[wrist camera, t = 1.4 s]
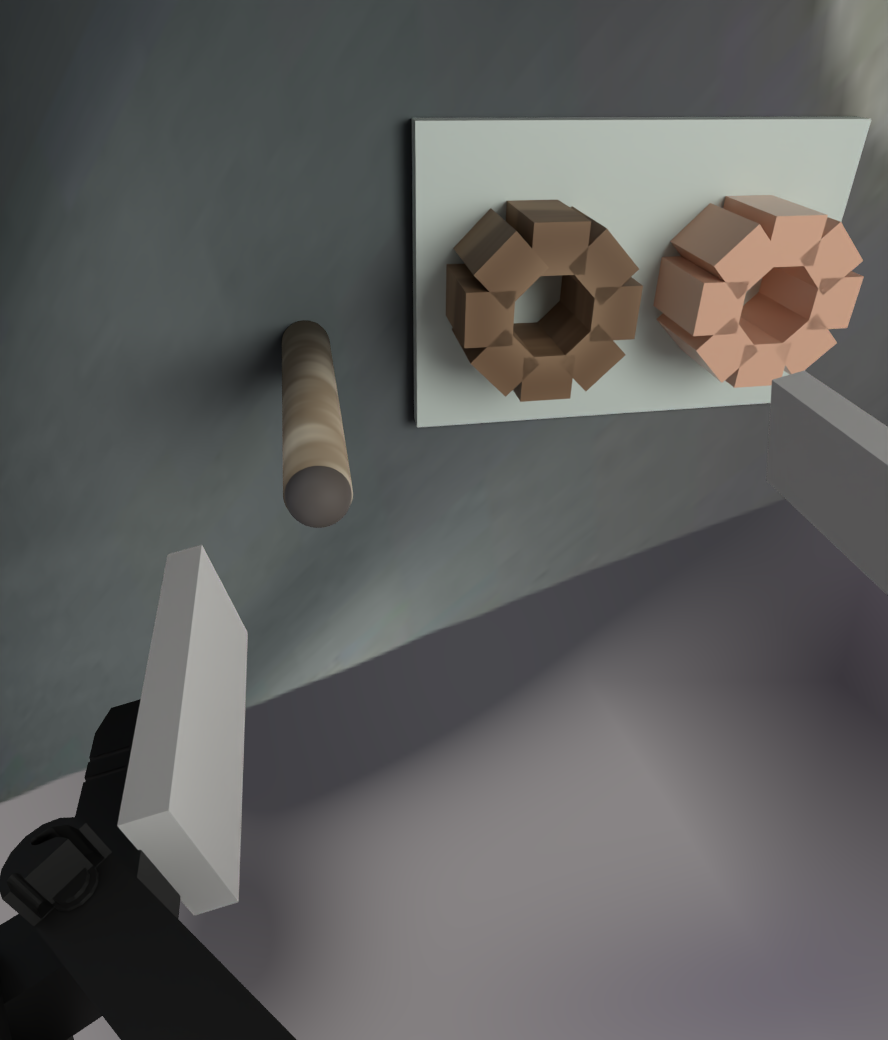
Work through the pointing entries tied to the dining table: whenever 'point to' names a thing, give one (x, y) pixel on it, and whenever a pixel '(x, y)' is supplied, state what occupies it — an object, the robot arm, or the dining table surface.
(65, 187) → the dining table surface
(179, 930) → the robot arm
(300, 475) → the wooden dowel rod
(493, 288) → the walnut bead
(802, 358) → the terracotta bead
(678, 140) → the board
